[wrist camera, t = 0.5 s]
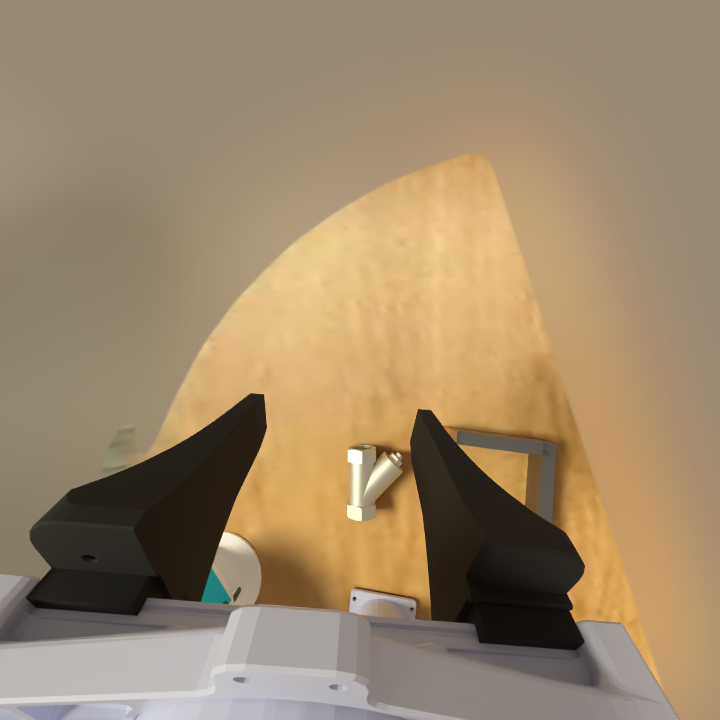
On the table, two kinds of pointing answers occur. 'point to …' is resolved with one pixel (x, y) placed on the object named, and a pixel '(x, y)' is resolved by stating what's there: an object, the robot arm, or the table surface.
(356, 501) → the pipe fitting
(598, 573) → the table surface
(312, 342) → the table surface
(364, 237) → the table surface
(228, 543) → the panda figurine
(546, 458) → the grey u-shaped frame
